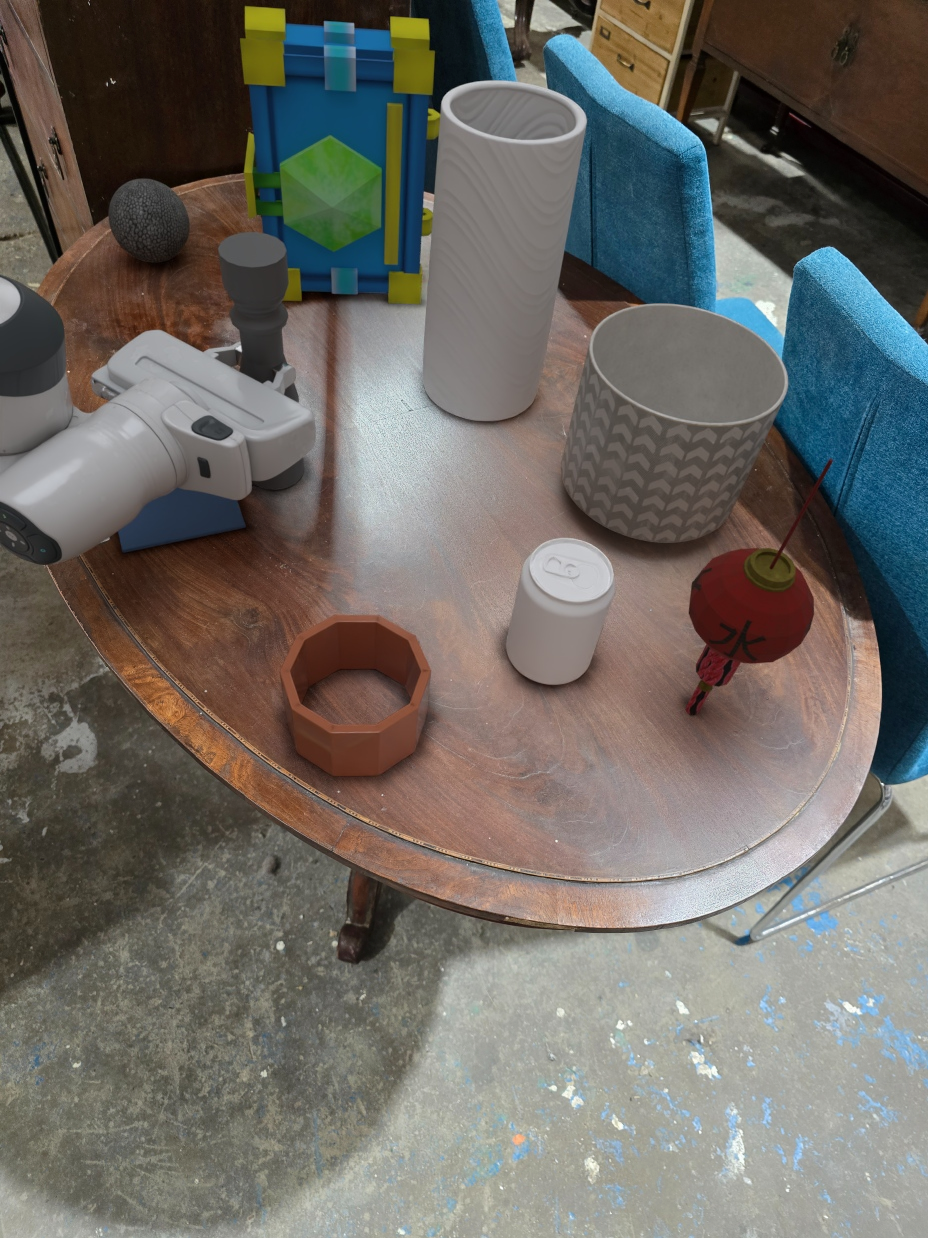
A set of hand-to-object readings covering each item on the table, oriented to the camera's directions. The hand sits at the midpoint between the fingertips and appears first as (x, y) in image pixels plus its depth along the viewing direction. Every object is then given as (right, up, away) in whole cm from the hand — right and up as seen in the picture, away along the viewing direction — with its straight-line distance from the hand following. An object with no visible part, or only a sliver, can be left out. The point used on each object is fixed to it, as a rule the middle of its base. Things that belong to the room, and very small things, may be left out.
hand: (270, 359), depth 83 cm
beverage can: (+27, -28, -1) cm, 39 cm away
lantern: (+39, -33, -4) cm, 52 cm away
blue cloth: (-12, -12, +7) cm, 18 cm away
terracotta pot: (+9, -33, -8) cm, 36 cm away
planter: (+38, -12, +13) cm, 42 cm away
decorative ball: (-23, +24, +34) cm, 48 cm away
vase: (+21, +3, +23) cm, 31 cm away
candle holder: (-2, -9, +10) cm, 14 cm away
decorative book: (+3, +21, +34) cm, 40 cm away
